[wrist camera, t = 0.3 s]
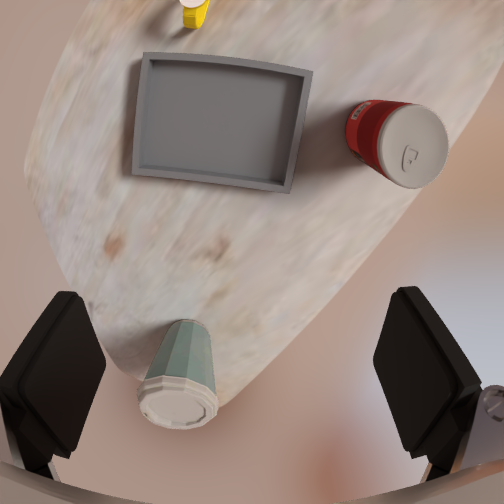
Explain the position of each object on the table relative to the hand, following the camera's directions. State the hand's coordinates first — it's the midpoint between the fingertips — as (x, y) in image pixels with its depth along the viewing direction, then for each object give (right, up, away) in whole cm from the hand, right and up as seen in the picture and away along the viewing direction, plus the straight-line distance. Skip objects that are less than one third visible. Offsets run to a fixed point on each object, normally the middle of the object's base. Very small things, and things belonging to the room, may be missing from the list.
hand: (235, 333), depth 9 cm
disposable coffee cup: (-9, -10, +39) cm, 42 cm away
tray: (-3, +17, +24) cm, 30 cm away
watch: (-5, +29, +18) cm, 35 cm away
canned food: (+15, +17, +25) cm, 34 cm away
